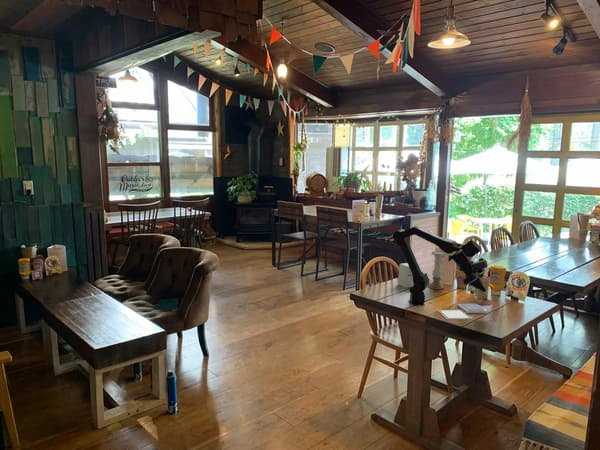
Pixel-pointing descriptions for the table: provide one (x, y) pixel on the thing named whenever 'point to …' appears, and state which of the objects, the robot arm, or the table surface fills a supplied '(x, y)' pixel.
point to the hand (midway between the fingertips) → (486, 290)
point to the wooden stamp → (483, 293)
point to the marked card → (454, 314)
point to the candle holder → (437, 271)
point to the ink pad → (472, 308)
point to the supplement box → (405, 276)
